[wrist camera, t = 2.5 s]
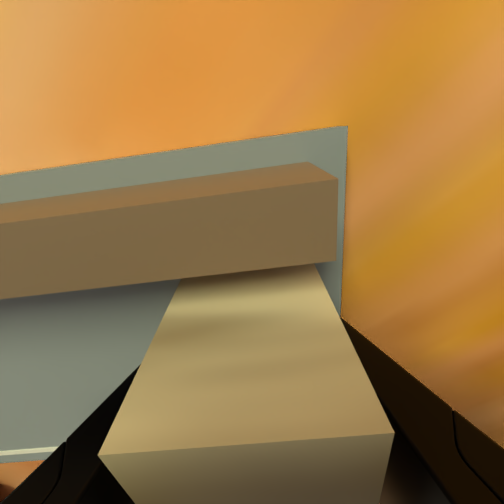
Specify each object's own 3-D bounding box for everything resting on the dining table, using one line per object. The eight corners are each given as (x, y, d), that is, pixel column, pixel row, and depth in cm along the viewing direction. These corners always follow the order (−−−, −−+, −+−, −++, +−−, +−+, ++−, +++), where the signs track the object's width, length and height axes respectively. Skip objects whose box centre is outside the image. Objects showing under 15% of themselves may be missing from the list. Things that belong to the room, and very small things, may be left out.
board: (330, 420, 13) (354, 506, 10) (-53, 451, 14) (-133, 536, 11) (337, 126, 7) (405, 124, 4) (-347, 225, 8) (-699, 281, 5)
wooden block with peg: (315, 435, 12) (353, 616, 8) (235, 441, 12) (226, 620, 8) (310, 255, 8) (395, 433, 3) (185, 270, 8) (97, 455, 3)
